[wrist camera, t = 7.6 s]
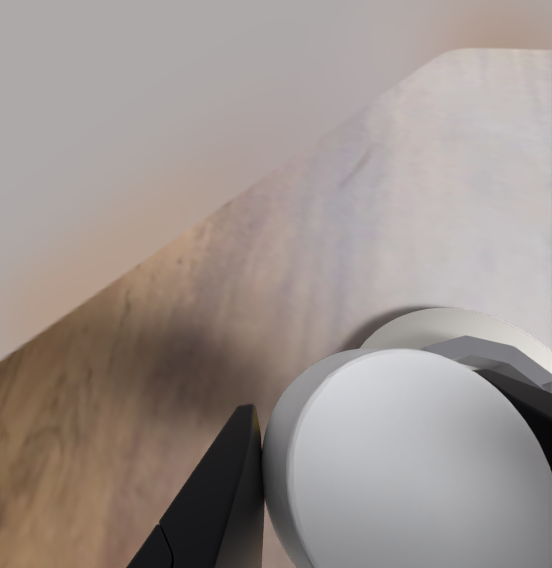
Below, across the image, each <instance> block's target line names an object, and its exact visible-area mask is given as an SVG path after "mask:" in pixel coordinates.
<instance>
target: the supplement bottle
mask: <svg viewBox="0 0 552 568" xmlns="http://www.w3.org/2000/svg"><path fill="white" fill-rule="evenodd" d="M261 466H262V479H263V489H264V497H265V502H266V506H267V510H268V513H269V517H270V520H271V522H272V525H273V527H274V530H275V532H276V534H277V536H278V539H279V540H280V542H281V544H282V546H283V547H284V549H285V551H286V553H287V554H288V556H289V557H290V559H291V560H292V562H293V563H294V565H295V566H296V567H297V568H552V472H551V469H550V466H549V464H548V462H547V459H546V457H545V455H544V453H543V450H542V448H541V446H540V444H539V442H538V440H537V439H536V437H535V435H534V434H533V432H532V430H531V429H530V427H529V426H528V424H527V423H526V421H525V420H524V419H523V417H522V416H521V415H520V413H519V412H518V411H517V410H516V409H515V407H514V406H513V405H512V404H511V402H510V401H509V400H508V399H507V398H506V397H505V396H504V395H503V394H502V393H501V392H500V391H499V390H498V389H497V388H495V387H494V386H493V385H492V384H491V383H489V382H488V381H487V380H486V379H484V378H483V377H481V376H480V375H479V374H477V373H475V372H474V371H472V370H470V369H468V368H467V367H465V366H463V365H462V364H460V363H458V362H455V361H453V360H451V359H448V358H446V357H443V356H441V355H438V354H435V353H431V352H427V351H421V350H415V349H407V348H390V349H373V348H372V349H353V350H347V351H343V352H339V353H336V354H333V355H331V356H328V357H326V358H323V359H322V360H320V361H318V362H317V363H315V364H313V365H312V366H310V367H309V368H307V369H306V370H305V371H304V372H302V373H301V374H300V375H299V376H298V377H297V378H296V379H295V380H294V381H293V382H292V383H291V384H290V385H289V386H288V387H287V389H286V390H285V391H284V392H283V394H282V395H281V397H280V398H279V400H278V402H277V404H276V406H275V408H274V410H273V412H272V414H271V417H270V419H269V422H268V425H267V428H266V432H265V436H264V441H263V447H262V458H261Z"/></svg>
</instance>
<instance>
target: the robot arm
mask: <svg viewBox="0 0 552 568" xmlns="http://www.w3.org/2000/svg"><path fill="white" fill-rule="evenodd" d="M472 371H474V372H475V373H477V374H479V375H480V376H481V377H483V378H484V379H486V380H487V381H488V382H489V383H491V384H492V385H493V386H494V387H495V388H497V389H498V390H499V391H500V392H501V393H502V394H503V395H504V396H505V397H506V398H507V399H508V400H509V401H510V402H511V404H512V405H513V406H514V407H515V409H516V410H517V411H518V412H519V413H520V415H521V416H522V417H523V419H524V420H525V421H526V423H527V424H528V426H529V427H530V429H531V430H532V432H533V434H534V435H535V437H536V439H537V440H538V442H539V444H540V446H541V448H542V450H543V453H544V455H545V457H546V459H547V462H548V464H549V466H550V469H551V472H552V393H551V392H548V391H545V390H543V389H540V388H537V387H535V386H532V385H529V384H527V383H524V382H521V381H519V380H516V379H514V378H511V377H508V376H506V375H503V374H500V373H498V372H495V371H492V370H490V369H487V368H482V369H476V370H472ZM261 458H262V445H261V433H260V427H259V422H258V417H257V412H256V408H255V405H254V404H246V405H240V406H238V407H237V408H236V410H235V411H234V413H233V414H232V416H231V417H230V418H229V420H228V421H227V423H226V424H225V426H224V427H223V429H222V430H221V432H220V433H219V434H218V436H217V437H216V439H215V440H214V442H213V443H212V445H211V446H210V448H209V449H208V451H207V452H206V453H205V455H204V456H203V458H202V459H201V461H200V462H199V464H198V465H197V467H196V468H195V470H194V471H193V472H192V474H191V475H190V477H189V478H188V480H187V481H186V483H185V484H184V486H183V487H182V489H181V490H180V491H179V493H178V494H177V496H176V497H175V499H174V500H173V502H172V503H171V505H170V506H169V508H168V509H167V510H166V512H165V513H164V515H163V516H162V518H161V519H160V521H159V524H160V525H159V524H157V525H156V526H155V528H154V529H153V531H152V532H151V534H150V535H149V536H148V538H147V539H146V541H145V542H144V544H143V545H142V546H141V548H140V549H139V551H138V552H137V553H136V555H135V556H134V558H133V559H132V560H131V562H130V563H129V565H128V566H127V567H126V568H262V548H263V528H264V504H265V498H264V489H263V479H262V466H261Z"/></svg>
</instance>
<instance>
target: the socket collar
mask: <svg viewBox="0 0 552 568" xmlns="http://www.w3.org/2000/svg"><path fill="white" fill-rule="evenodd" d="M372 348H373V349H390V348H407V349H415V350H421V351H427V352H431V353H435V354H438V355H441V356H443V357H446V358H448V359H451V360H453V361H455V362H458V363H460V364H462V365H463V366H465V367H467V368H468V369H470V370H476V369H482V368H487V369H490V370H492V371H495V372H498V373H500V374H503V375H506V376H508V377H511V378H514V379H516V380H519V381H521V382H524V383H527V384H529V385H532V386H535V387H537V388H540V389H543V390H545V391H548V392H551V393H552V351H551V350H550V349H548V348H547V347H546V346H545V345H543V344H542V343H541V342H539V341H538V340H537V339H536V338H534V337H532V336H531V335H529V334H528V333H526V332H525V331H523V330H521V329H520V328H518V327H516V326H514V325H512V324H510V323H508V322H506V321H503V320H501V319H498V318H496V317H493V316H491V315H487V314H484V313H480V312H476V311H472V310H466V309H459V308H431V309H424V310H419V311H414V312H411V313H408V314H405V315H403V316H400V317H398V318H396V319H394V320H392V321H390V322H388V323H386V324H385V325H384V326H382V327H381V328H379V329H378V330H376V331H375V332H374V333H373V334H372V335H371V336H370V337H369V338H368V339H367V340H366V341H365V342H364V343H363V344H362V346H361V347H360V348H359V349H372Z"/></svg>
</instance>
